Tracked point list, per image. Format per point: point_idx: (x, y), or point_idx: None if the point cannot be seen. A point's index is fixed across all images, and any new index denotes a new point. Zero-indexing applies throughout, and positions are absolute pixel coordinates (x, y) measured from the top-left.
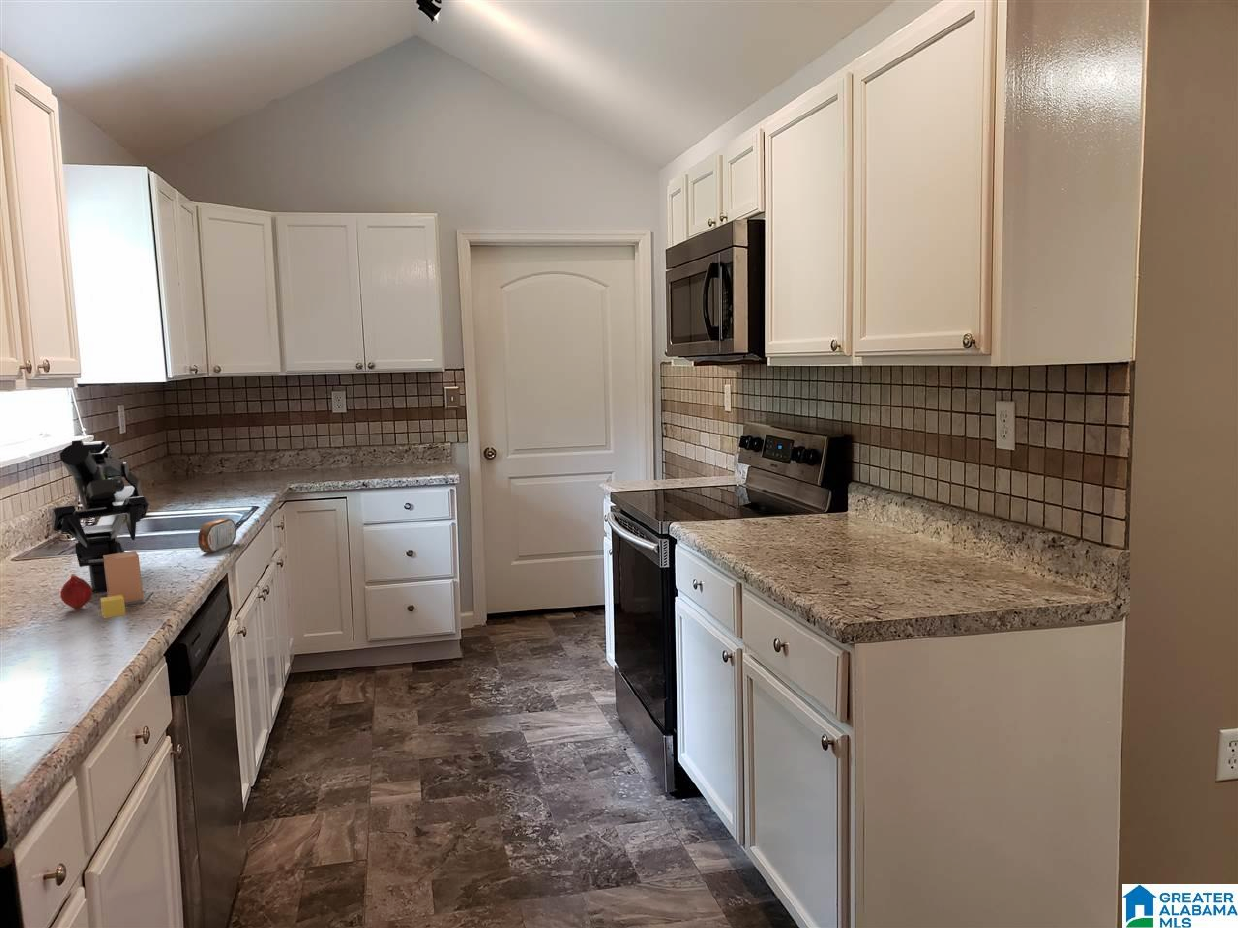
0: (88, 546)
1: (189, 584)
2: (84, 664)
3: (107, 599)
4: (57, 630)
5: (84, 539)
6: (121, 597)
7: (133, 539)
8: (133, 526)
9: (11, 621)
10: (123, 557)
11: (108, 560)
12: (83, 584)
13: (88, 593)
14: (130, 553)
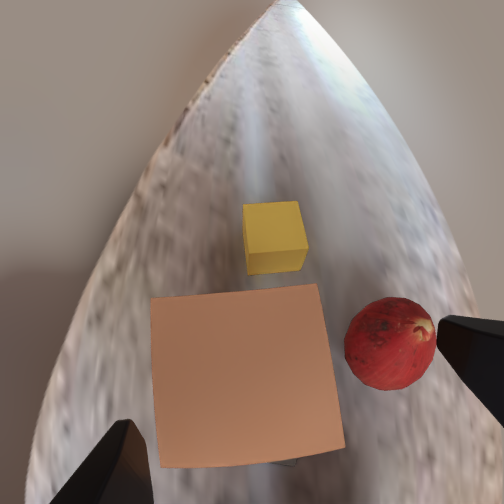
0: (438, 331)
1: (62, 462)
2: (284, 54)
3: (286, 220)
4: (369, 188)
5: (484, 319)
6: (248, 220)
7: (135, 429)
8: (79, 493)
9: None
10: (227, 298)
11: (303, 286)
12: (377, 311)
13: (353, 319)
14: (187, 397)
